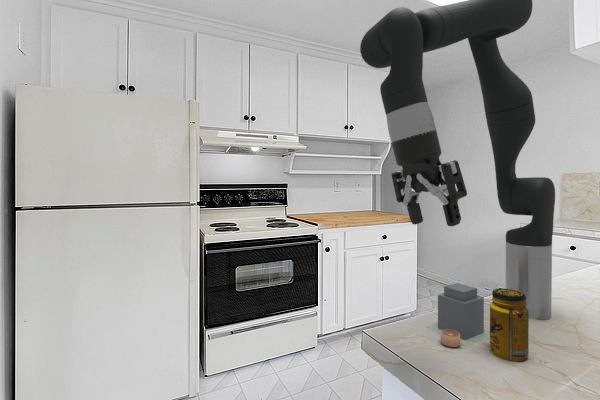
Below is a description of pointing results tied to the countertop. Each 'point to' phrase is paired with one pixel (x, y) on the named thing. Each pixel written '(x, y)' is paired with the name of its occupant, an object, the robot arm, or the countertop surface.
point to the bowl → (450, 337)
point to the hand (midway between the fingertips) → (434, 224)
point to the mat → (468, 341)
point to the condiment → (509, 325)
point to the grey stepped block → (461, 310)
